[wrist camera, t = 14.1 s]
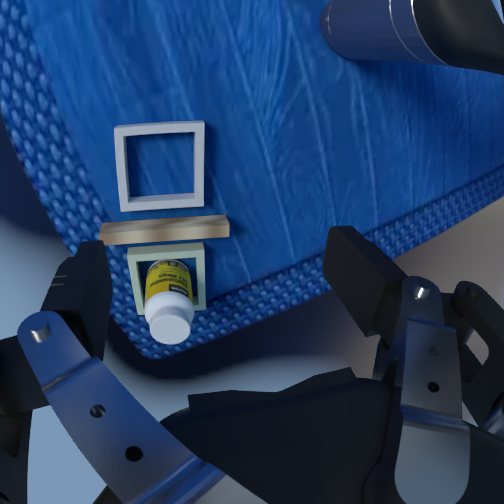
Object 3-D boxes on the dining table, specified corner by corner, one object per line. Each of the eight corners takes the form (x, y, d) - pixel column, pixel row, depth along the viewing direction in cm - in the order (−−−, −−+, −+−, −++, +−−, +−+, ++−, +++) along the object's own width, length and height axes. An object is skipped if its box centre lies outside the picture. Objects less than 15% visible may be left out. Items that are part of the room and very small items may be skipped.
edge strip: (225, 215, 41) (229, 224, 39) (225, 226, 42) (229, 236, 39) (102, 223, 37) (98, 234, 35) (104, 234, 38) (100, 245, 36)
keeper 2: (202, 242, 42) (204, 249, 41) (204, 301, 47) (205, 309, 46) (128, 247, 40) (127, 255, 38) (138, 306, 45) (138, 314, 43)
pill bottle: (190, 256, 43) (198, 309, 34) (189, 292, 46) (197, 348, 37) (145, 256, 41) (141, 310, 32) (147, 293, 44) (145, 349, 35)
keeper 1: (203, 120, 34) (204, 122, 33) (202, 200, 39) (203, 206, 38) (117, 125, 32) (114, 128, 30) (123, 205, 37) (120, 211, 35)
